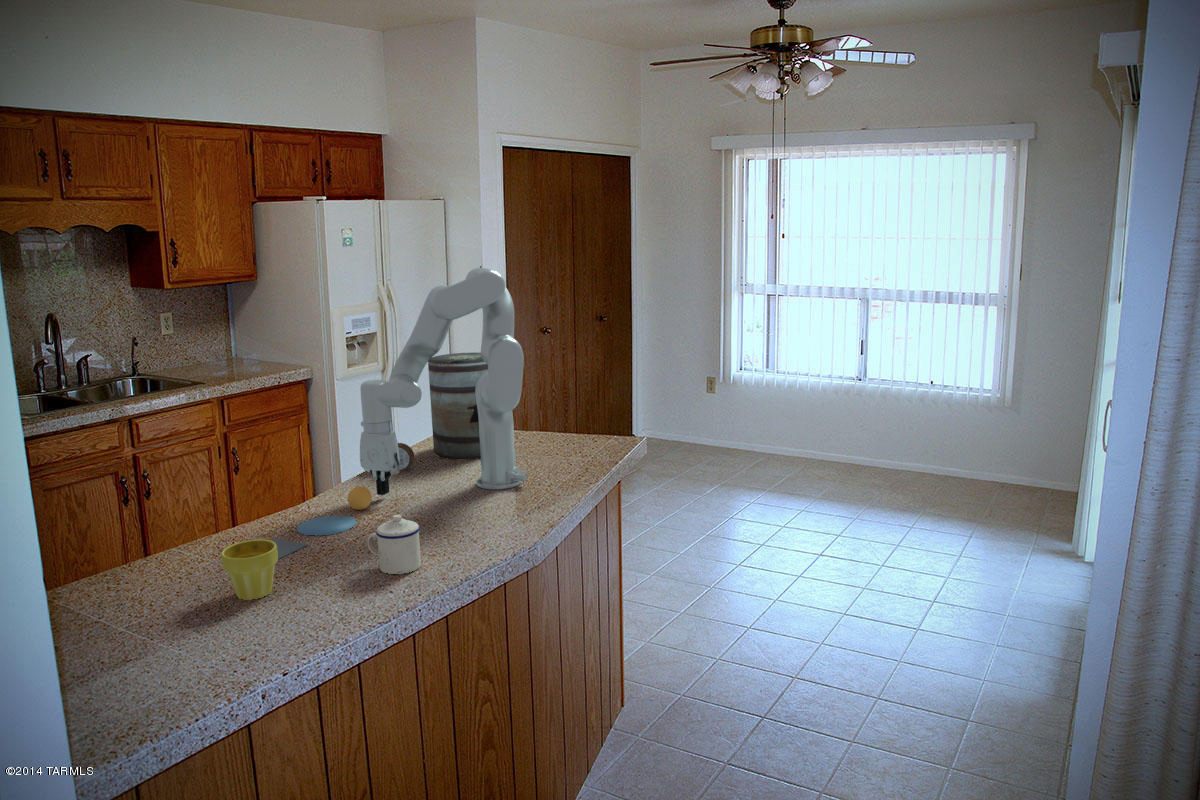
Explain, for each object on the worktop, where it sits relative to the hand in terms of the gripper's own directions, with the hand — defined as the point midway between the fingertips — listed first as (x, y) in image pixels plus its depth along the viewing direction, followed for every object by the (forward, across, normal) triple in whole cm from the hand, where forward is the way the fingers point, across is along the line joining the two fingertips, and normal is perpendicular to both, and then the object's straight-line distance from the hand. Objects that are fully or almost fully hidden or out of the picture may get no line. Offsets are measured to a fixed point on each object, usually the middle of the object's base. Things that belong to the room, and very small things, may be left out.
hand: (383, 493), depth 236 cm
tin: (+2, -16, +23) cm, 28 cm away
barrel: (+2, -6, +51) cm, 51 cm away
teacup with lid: (+2, +32, -37) cm, 49 cm away
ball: (-1, 0, -9) cm, 9 cm away
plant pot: (+2, +14, -59) cm, 61 cm away
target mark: (+2, 0, -22) cm, 22 cm away
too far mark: (+2, 0, -39) cm, 39 cm away
